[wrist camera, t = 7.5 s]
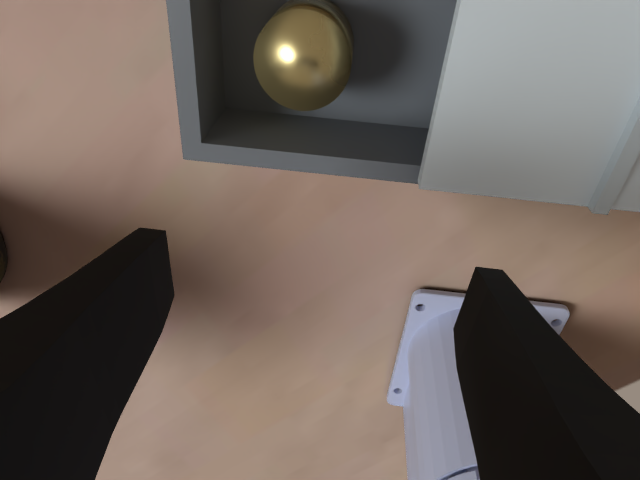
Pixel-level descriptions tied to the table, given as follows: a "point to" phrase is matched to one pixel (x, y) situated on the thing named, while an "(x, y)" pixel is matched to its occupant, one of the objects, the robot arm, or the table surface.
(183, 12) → the tub
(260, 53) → the brass knob
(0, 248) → the container
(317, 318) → the table surface
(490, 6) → the lid
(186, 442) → the table surface
